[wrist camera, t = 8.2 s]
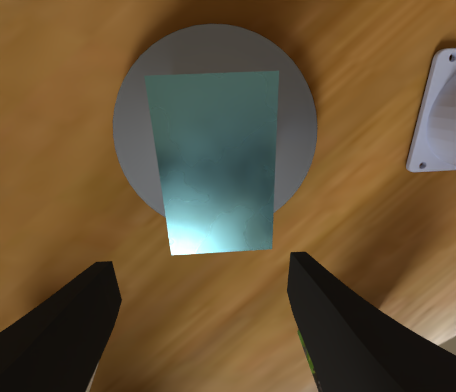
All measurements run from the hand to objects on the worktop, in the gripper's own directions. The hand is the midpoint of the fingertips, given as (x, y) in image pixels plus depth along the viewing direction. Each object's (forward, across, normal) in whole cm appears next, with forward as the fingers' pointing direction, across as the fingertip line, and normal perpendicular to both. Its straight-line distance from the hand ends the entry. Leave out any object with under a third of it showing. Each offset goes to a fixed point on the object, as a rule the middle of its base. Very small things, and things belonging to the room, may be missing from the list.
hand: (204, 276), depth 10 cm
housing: (+8, -1, -4) cm, 9 cm away
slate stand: (+10, -1, -4) cm, 10 cm away
